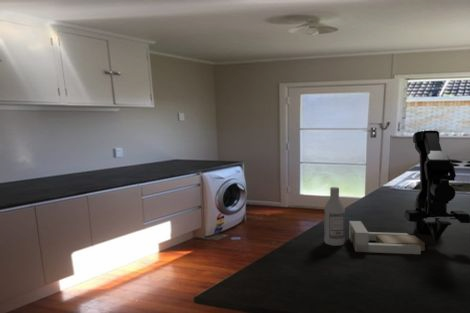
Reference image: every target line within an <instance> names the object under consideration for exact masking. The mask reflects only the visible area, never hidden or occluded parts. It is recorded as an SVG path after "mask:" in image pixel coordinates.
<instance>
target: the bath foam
mask: <svg viewBox="0 0 470 313" xmlns="http://www.w3.org/2000/svg"><path fill="white" fill-rule="evenodd" d="M329 190H330V192H329V194H330V197H329V199H328V201H327V202H326V203H325V206H324V213H323V214H324V217H323V220H324V222H323V224H324V225H323V226H324V227H323V228H324V230H323V231H324V233H323V235H324V237H323V238H324V239H323V240H324V244H326V245H328V246H333V247H334V246H335V247H337V246H338V247H339V246H343V245H344V244H345V240H346V239H345V236H346V232H345V231H346V228H345V226H346V220H345V219H346V218H345V217H346V211H345V209H346V208H345V206H344V204H343V202H342V200H341V199H340V188H339V187H338V186H331V187H330V189H329Z"/></svg>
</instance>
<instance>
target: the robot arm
mask: <svg viewBox="0 0 470 313" xmlns="http://www.w3.org/2000/svg"><path fill="white" fill-rule="evenodd" d="M412 135H413V136H412V143H413V144H414V148H415V151H417V153H418V154H419V182H420V186H419V187H420V191H419V192H418V194H417V195H416V197H415V201H414V204H413V206H412V209H406V210H405V211H404V215H403V216H404V218H405V219H406V220H407V221H409V222H411V223H412V222H413V229H414V230H415V231H416V232H417V233H418V234H424V235H431V236H432V239H433V242H439V240H440V238H441V236H442V235H443V234H444V232H445V231H446V229H447V228H448V227H449V226H452V223H451V220H457V221H458V222H459V223H461V224H470V214H469V213H467V212H465V211H464V210H451V211H450V212H448V210H447V209H448V204H449V203H450V202H451V201H453V199H455V196H456V193H457V192H456V190H455V188H454V187H453V186H452V185H451V184H450V181H453V182H454V181H455V178H456V176H457V175H456V170H455V166H454V165H453V161H451V159H450V158H449V155H448V154H446V153H444V152H443V150H442V147H441V144H440V131H438V129H431V128H430V129H422V130H421V131H418V130H417V131H416V132H414V134H412Z"/></svg>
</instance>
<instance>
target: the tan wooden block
mask: <svg viewBox="0 0 470 313" xmlns="http://www.w3.org/2000/svg"><path fill="white" fill-rule="evenodd" d="M375 243H387V244H415V245H420V246H421V252H422V251H425V250H426V249H425V248H426V247H425V246H426V245H425V244H426V243H425V242H424V241H423V240H421V239H420V238H419V237H417V236H416V235H410V234H408V235H376V241H375Z"/></svg>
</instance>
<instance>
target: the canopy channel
mask: <svg viewBox="0 0 470 313" xmlns="http://www.w3.org/2000/svg"><path fill="white" fill-rule="evenodd" d="M348 226H349V227H348V230H349V232H348V235H349V241H350V242H351V243H353V244H352V246H353V249H354V251H355V252H357V253H377V254H379V253H382V254H405V255H421V253H422V251H421V246H420V245H415V244H387V243H376V235H409V234H408V233H406V232H381V231H380V232H375V231H374V232H372V231H368V230H367V228H366V226H365V225H364V224H363V222H362V221H361V220H349V224H348ZM370 241H371V242H370ZM372 241H373V242H372ZM374 241H375V242H374Z"/></svg>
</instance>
